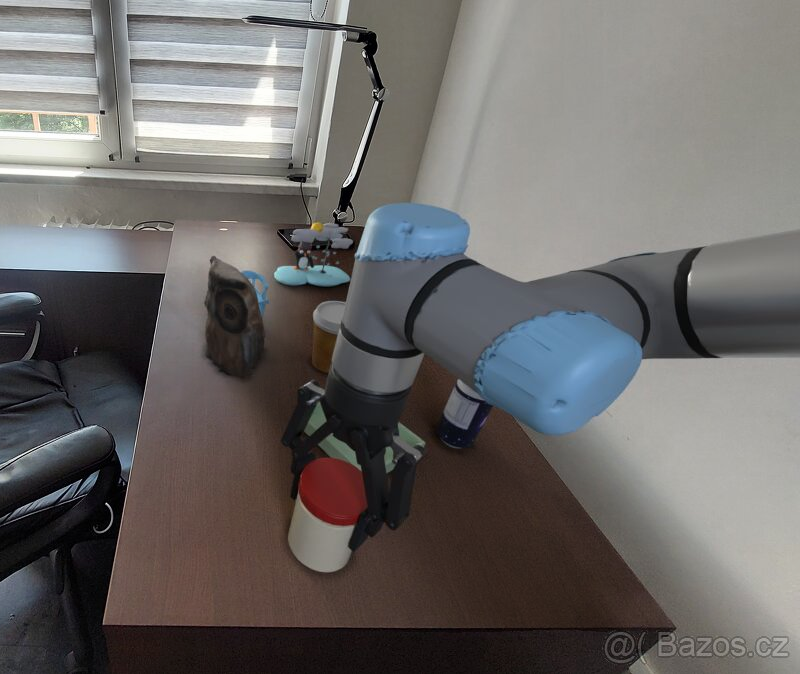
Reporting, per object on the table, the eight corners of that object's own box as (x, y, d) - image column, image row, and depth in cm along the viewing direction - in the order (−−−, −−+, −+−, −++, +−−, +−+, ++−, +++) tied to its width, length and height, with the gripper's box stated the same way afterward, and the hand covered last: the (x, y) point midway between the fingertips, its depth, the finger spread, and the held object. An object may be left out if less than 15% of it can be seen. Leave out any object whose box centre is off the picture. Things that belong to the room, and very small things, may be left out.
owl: (247, 385, 85) (258, 289, 73) (185, 367, 89) (187, 274, 77) (266, 349, 94) (278, 260, 83) (210, 334, 98) (214, 247, 87)
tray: (421, 453, 72) (426, 442, 71) (361, 487, 66) (365, 476, 65) (350, 397, 83) (353, 386, 81) (294, 421, 77) (296, 411, 76)
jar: (364, 553, 58) (385, 501, 52) (316, 584, 54) (334, 532, 49) (320, 505, 64) (335, 454, 58) (275, 531, 60) (286, 479, 54)
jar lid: (366, 537, 49) (370, 527, 48) (290, 510, 52) (293, 501, 51) (373, 479, 56) (376, 470, 55) (305, 458, 58) (307, 448, 57)
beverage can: (473, 456, 72) (504, 399, 65) (434, 445, 74) (460, 388, 67) (469, 431, 76) (498, 375, 70) (433, 422, 78) (457, 367, 71)
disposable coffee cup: (362, 368, 90) (377, 316, 83) (329, 385, 85) (342, 331, 79) (326, 345, 96) (337, 295, 90) (293, 359, 92) (303, 307, 85)
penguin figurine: (276, 288, 117) (284, 232, 108) (270, 270, 126) (277, 216, 117) (353, 290, 117) (367, 234, 109) (342, 271, 126) (354, 218, 118)
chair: (239, 336, 98) (243, 287, 91) (222, 318, 104) (225, 270, 97) (270, 329, 101) (276, 281, 94) (251, 311, 107) (256, 264, 100)
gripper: (504, 415, 39) (422, 562, 52) (308, 313, 52) (282, 451, 65) (464, 458, 35) (386, 606, 47) (263, 336, 48) (244, 478, 61)
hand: (326, 516), depth 56 cm, fingers closed on jar lid, 8 cm apart
